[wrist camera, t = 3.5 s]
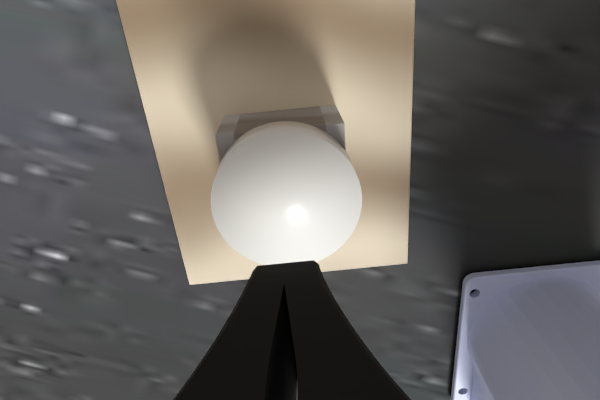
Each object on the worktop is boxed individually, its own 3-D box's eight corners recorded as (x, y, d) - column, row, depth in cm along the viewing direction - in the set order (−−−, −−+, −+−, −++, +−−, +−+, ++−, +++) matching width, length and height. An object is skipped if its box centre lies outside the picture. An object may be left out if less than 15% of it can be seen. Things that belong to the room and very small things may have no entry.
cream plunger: (348, 209, 18) (363, 260, 14) (235, 220, 18) (224, 274, 14) (342, 95, 16) (359, 124, 12) (215, 108, 16) (196, 140, 12)
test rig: (401, 251, 20) (423, 299, 17) (193, 271, 20) (177, 323, 17) (417, -439, 11) (473, -618, 8) (27, -398, 11) (-78, -559, 8)
